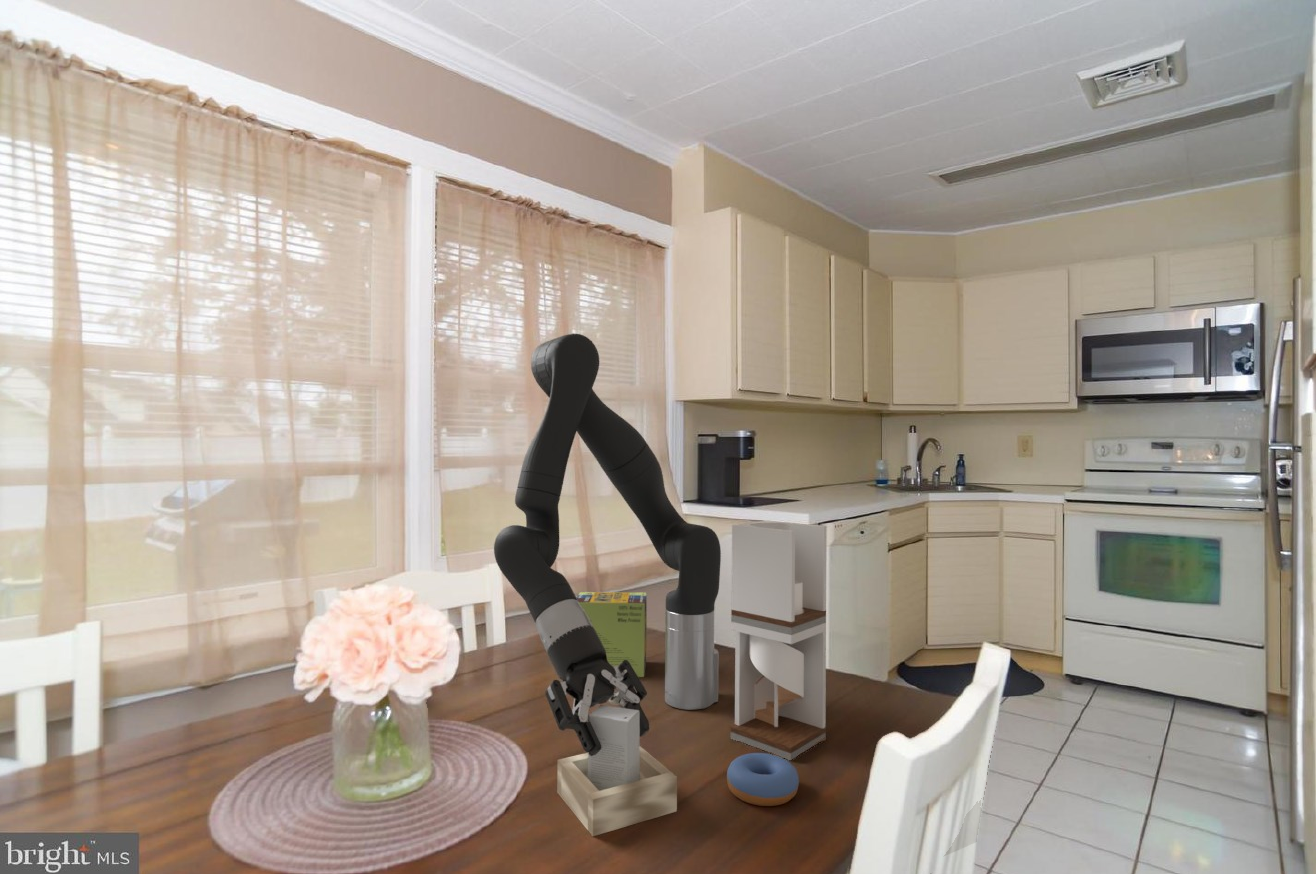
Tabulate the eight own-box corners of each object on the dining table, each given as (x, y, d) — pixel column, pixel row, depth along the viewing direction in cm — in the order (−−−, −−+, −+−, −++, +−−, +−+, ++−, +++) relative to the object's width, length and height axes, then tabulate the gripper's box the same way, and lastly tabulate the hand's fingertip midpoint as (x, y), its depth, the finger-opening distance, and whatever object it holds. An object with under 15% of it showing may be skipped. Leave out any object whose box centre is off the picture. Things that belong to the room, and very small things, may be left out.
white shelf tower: (730, 739, 111) (732, 525, 112) (766, 720, 119) (768, 520, 120) (790, 761, 103) (792, 531, 104) (825, 739, 111) (826, 526, 112)
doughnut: (782, 817, 87) (782, 779, 88) (713, 799, 93) (714, 764, 93) (809, 792, 96) (809, 758, 96) (745, 777, 101) (745, 745, 102)
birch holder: (634, 772, 99) (634, 741, 99) (676, 811, 89) (677, 776, 89) (557, 792, 93) (557, 759, 93) (592, 836, 83) (593, 799, 83)
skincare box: (640, 798, 92) (641, 709, 92) (628, 814, 88) (629, 721, 88) (599, 790, 94) (600, 703, 94) (586, 805, 90) (587, 714, 90)
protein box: (645, 677, 141) (645, 602, 141) (571, 676, 141) (572, 601, 141) (646, 661, 151) (647, 591, 151) (577, 660, 151) (578, 591, 152)
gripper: (540, 633, 92) (592, 745, 84) (619, 615, 102) (673, 714, 94) (518, 663, 96) (566, 773, 87) (596, 643, 106) (646, 740, 97)
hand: (621, 742), depth 91 cm, fingers open, 8 cm apart
